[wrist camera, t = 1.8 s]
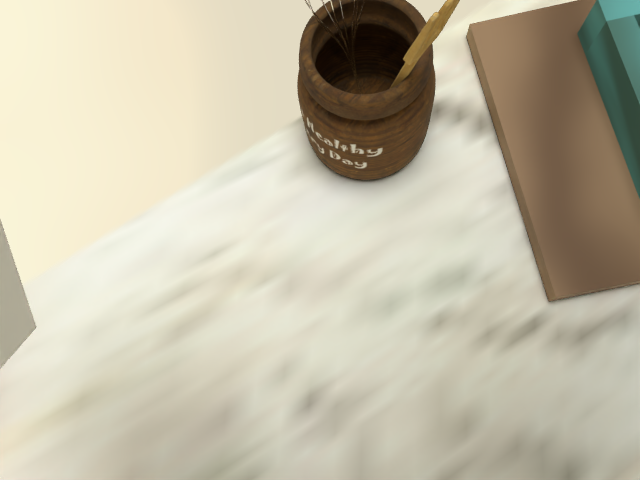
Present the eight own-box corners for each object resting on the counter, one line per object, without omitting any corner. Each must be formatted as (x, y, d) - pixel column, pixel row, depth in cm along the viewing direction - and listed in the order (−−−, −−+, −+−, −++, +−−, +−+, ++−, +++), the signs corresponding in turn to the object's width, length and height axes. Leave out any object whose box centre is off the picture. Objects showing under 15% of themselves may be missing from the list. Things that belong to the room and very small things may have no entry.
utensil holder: (361, 55, 29) (354, -170, 17) (456, 126, 27) (519, -68, 16) (282, 134, 28) (220, -47, 16) (376, 212, 26) (380, 73, 15)
